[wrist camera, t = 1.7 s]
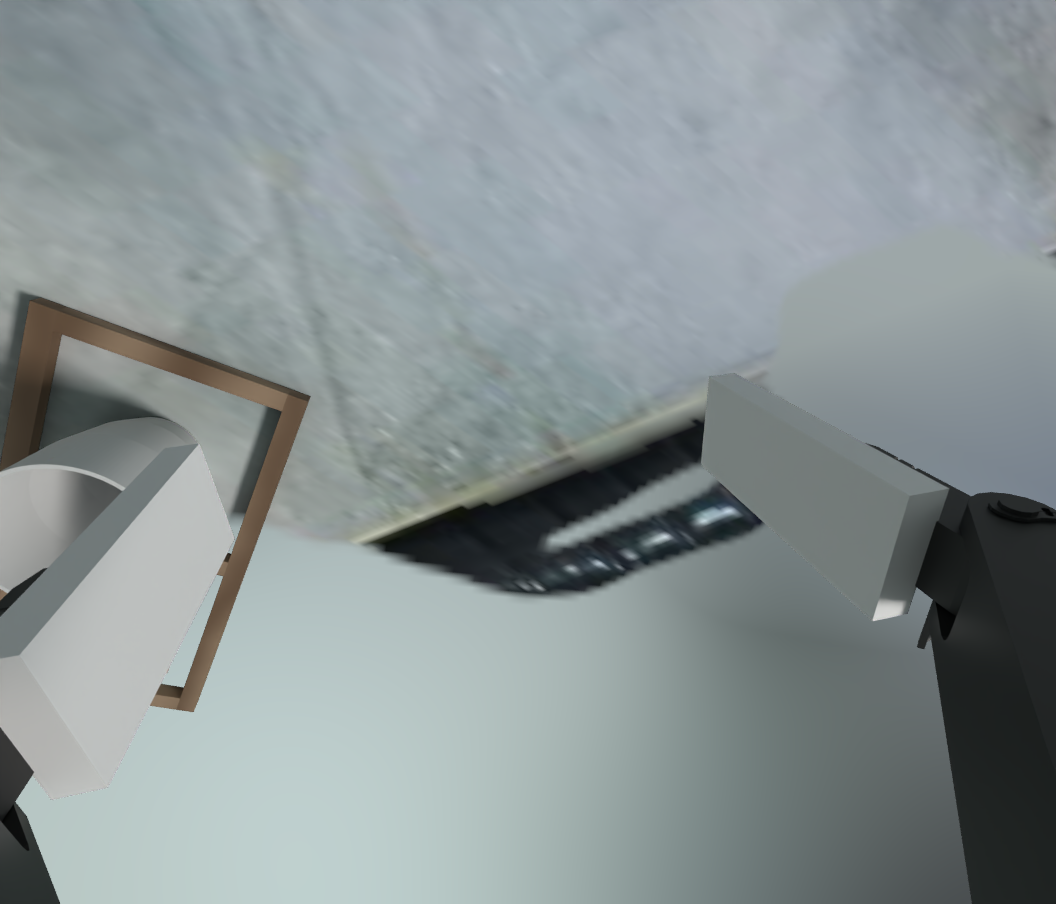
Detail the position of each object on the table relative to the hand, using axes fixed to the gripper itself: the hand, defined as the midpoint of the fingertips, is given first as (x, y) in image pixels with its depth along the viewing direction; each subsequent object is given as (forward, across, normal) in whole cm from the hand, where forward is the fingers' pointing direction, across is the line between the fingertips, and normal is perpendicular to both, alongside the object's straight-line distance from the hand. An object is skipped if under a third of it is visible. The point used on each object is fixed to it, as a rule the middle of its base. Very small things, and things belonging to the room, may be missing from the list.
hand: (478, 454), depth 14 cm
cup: (+22, -19, -7) cm, 30 cm away
